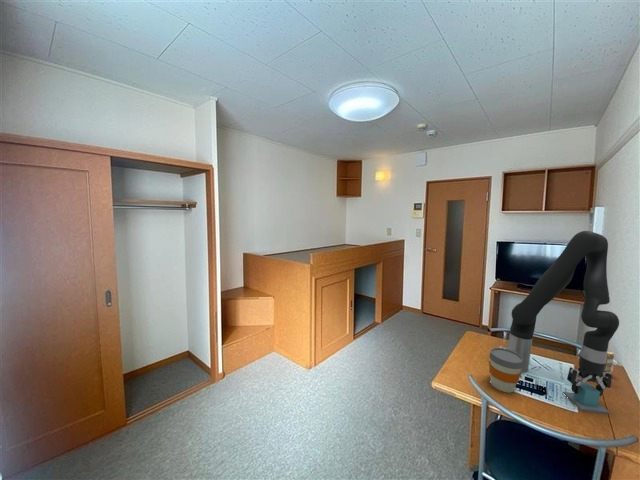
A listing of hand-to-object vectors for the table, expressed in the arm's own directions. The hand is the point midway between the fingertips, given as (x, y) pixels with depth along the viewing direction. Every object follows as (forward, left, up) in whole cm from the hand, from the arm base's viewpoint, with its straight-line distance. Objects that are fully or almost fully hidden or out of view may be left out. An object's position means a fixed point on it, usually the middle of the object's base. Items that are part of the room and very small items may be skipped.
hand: (586, 393), depth 112 cm
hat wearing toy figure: (+27, +25, -5) cm, 37 cm away
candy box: (+19, +20, -5) cm, 28 cm away
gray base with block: (0, 0, -4) cm, 4 cm away
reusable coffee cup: (-29, +6, -5) cm, 30 cm away
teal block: (0, 0, -3) cm, 3 cm away
